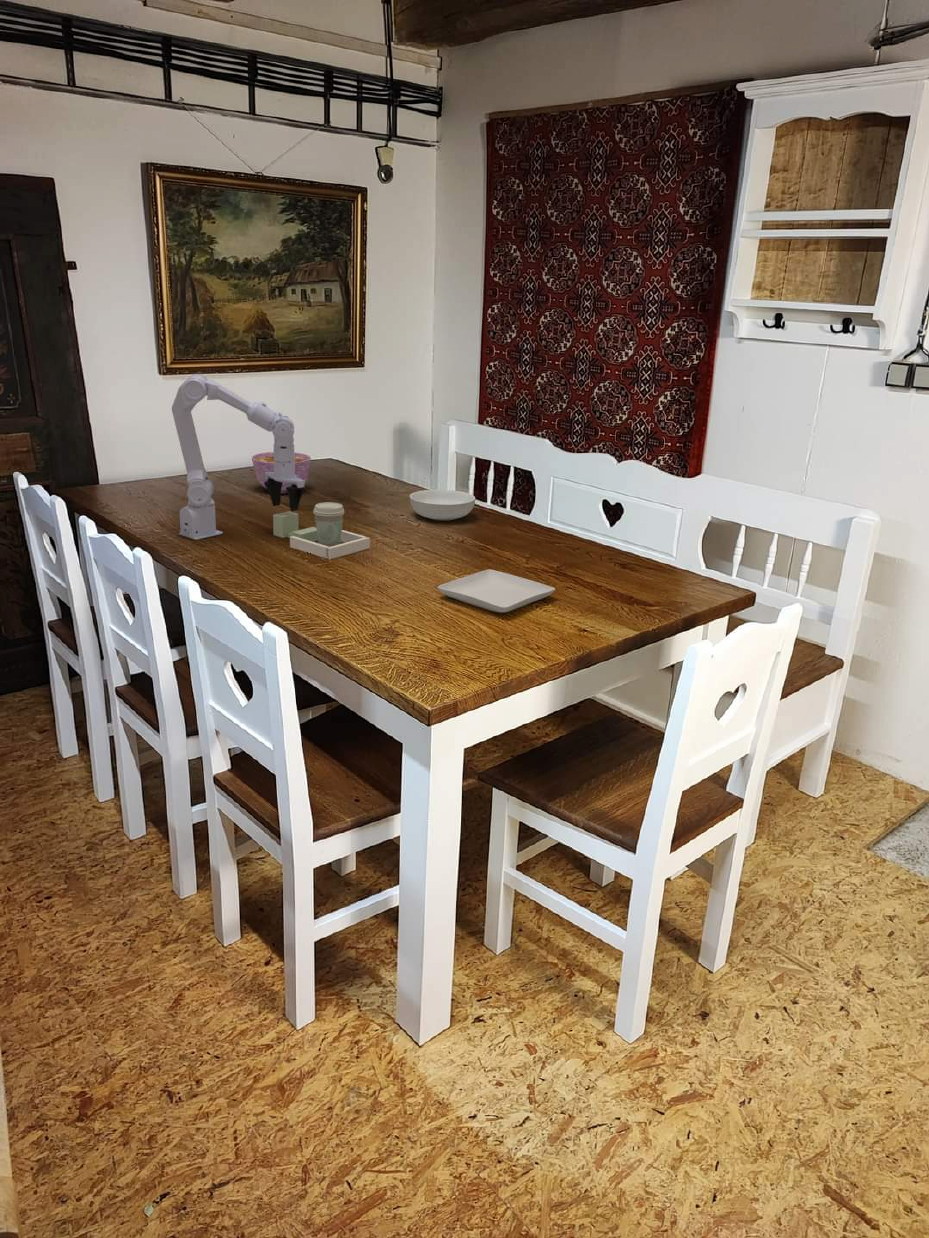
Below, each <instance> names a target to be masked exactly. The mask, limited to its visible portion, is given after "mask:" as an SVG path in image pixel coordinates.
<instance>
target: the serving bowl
mask: <svg viewBox="0 0 929 1238" xmlns="http://www.w3.org/2000/svg"><path fill="white" fill-rule="evenodd" d="M409 501H410V505H411V507H412V509H413V511H414V512H415V513H416V514H418V515H420V516H422V517H424V518H427V519H430V520H433V521H440V522H443V521H444V522H445V521H452V520H457V519H460V518H464V517H465V516H467V515H469V514H470V512H471V511H472V510H473V508H474V507H475V502H476V497H475V496H474V495H473V494H471V493H468V492H465V491H462V490H461V491H459V490H451V489H424V490H419V491H415V492H412V493H410V494H409Z"/></svg>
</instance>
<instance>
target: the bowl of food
mask: <svg viewBox="0 0 929 1238" xmlns="http://www.w3.org/2000/svg"><path fill="white" fill-rule="evenodd" d="M294 459H295V475H297V477H298V478H300V479H302V480H304V483H306V482H307V478H308V474H309V470H310V466H311V460H312V456H310V455H308V454H306V453H300V452H294ZM251 460H252V465H253V468H254V472H255V475H256V476H255V477H256V478H257V481H258V483H259V484H260V485H261V486H262V487H263V488H265V489H266V490H268V489H267V488H266V486H265V484H264V482H266V481H268V479H265V472H274V451H267V452H261V453H256V454H254V455H252V456H251ZM290 486H292V485H290V484H286V483H283V484H282V488H281V494H288V492H287V490H286V487H290Z"/></svg>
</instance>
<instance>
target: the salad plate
mask: <svg viewBox="0 0 929 1238" xmlns="http://www.w3.org/2000/svg"><path fill="white" fill-rule="evenodd" d="M437 590H438V591H439V592H440V593H442V594H443V595H445V596H447V597H449V598H452V599H455V600H457V601H460V602H462V603H465V604H469V605H471V606H475V607H478V608H481V609H485V610H487V611H491V612H495V613H499V614H500V613H503V614H504V613H508V612H511V611H515V610H517V609H519V608H521V607H524V606H526V605H529V604H531V603H534V602H537V601H539V600H542V599H544V598H546V597H548V596H550V595H551V594H553V593H554V592H555V591H556V588H555V587H553V586H551V585H547V584H544V583H541V582H538V581H535V580H530V579H528V578H524V577H521V576H517V575H514V574H510V573H506V572H503V571H499V570H495V569H484V570H482V571H479V572H475V573H472V574H470V575H466V576H463V577H461V578H457V579H454V580H451V581H448V582H445V583H442V584H440V585H438V586H437Z"/></svg>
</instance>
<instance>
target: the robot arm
mask: <svg viewBox="0 0 929 1238" xmlns="http://www.w3.org/2000/svg"><path fill="white" fill-rule="evenodd" d="M205 398H206V400H207V401H215V400H219V401H221V402H224V403H225V404H227V405H229V406H230V407H233V408H234V409H237V410H239V411H240V412H243V413H244V414H245V415H246V418H247V420H248V421H249V422H250V423H253V424H254V425H256V426H258V427H260V428H262V429H263V430H265V431H267V432H271V433H272V435H273V437H274V438H273V440H274V441H273V442H274V443H273V452H274V472H265V479H268V481H266V482H264V484H265V486H266V488H267V489H266V488H265V489H266V490H267V491H268V494H269V497H270V500H271V504H272V506H273V507H276V506H280V505H281V495H282V493H281V488H282V484H283V483H286V484H290V485H292V486H290V487H286V490H287V492H288V493H287V494H288V500H289V511H290V512H295V511H298V509H299V506H300V505H299V504H300V502H301V498H302V496H303V494H304V491H305V490H306V486H305V485H306V484H305V483H306V482H305V483H304V480H302V479H300V478H298V477H297V475H295V459H294V453H295V444H294V442H295V438H294V434H295V424H294V422H293V420H292V419H291V418H289V416H287V415H283V413H282V412H280V411H279V412H277V411H274V410H273V409H271V408H269V407H267V405H268V404H267V403H265V402H264V401H263V402H262V403H261V402H259V401H256V402H250V401H248V400H247V399H245V398H244V397H242V396H241V395H239V394H238V393H235V392H234V391H233V390H231V389H229V388H227V387H226V386H225V385H222V384H221V383H220V382H218V381H215V380H214V379H211V378H208V377H206V376H205V375H204V374H200V373H194V374H192V375H190V376H189V377H188V378H187V379H185V380H184V381H183V382H182V383H181V384H180V385H179V387H178V389H177V393H176V396H175V398H174V400H173V403H172V406H171V411H172V417H173V421H174V425H175V428H176V432H177V433H176V434H177V437H178V441H179V446H180V449H181V453H182V457H183V461H184V465H185V469H186V479H187V480H186V481H187V486H188V487H187V493H186V497H187V499H188V502H187V503H188V504H187V505H186V506H184V507H180V511H179V525H180V527H179V529H180V532H179V533H178V535H180V536H183V537H186V538H189V539H192V540H201V539H207V538H210V537H214V536H219V535H222V534H224V533H223V531H221V530H218V529H217V523H216V505H215V504H216V503H215V500H214V499H213V498H212V495H213V493H214V491H215V486H214V483H213V482H212V480H211V479H210V478H209V476H208V472H207V470H206V468H205V465H204V461H203V457H202V453H201V447H200V444H199V440H198V436H197V431H196V427H195V423H194V419H193V414H192V411H193V410H194V408H195V407H196V405H197V404H198V403H200V402H201V401H202V400H204V399H205Z"/></svg>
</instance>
